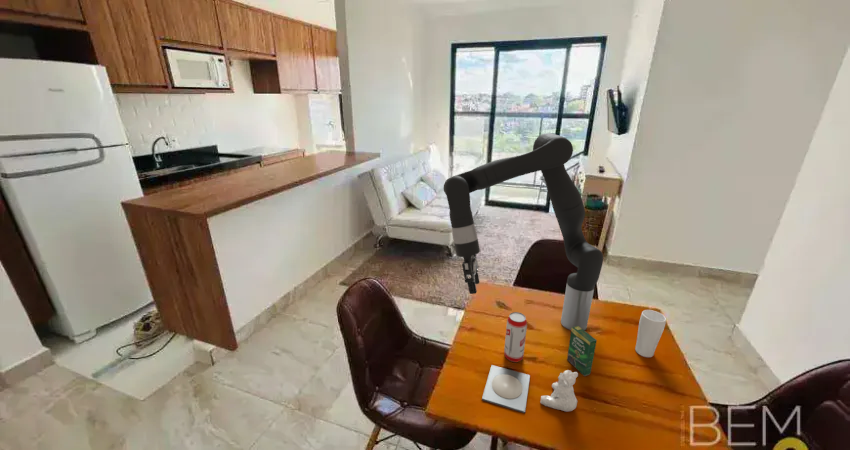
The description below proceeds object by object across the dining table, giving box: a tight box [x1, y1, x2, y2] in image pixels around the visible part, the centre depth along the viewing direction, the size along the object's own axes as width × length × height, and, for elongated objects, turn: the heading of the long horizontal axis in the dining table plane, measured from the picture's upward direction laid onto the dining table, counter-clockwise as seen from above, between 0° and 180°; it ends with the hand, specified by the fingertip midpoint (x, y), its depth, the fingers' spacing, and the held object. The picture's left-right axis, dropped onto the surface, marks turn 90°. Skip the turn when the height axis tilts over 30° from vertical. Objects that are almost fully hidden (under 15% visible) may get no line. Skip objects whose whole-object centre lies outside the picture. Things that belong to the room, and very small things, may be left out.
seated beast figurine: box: [539, 369, 579, 412], centre depth 93 cm, size 10×9×12 cm
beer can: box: [503, 311, 528, 363], centre depth 110 cm, size 6×6×16 cm
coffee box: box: [566, 326, 597, 377], centre depth 106 cm, size 8×3×13 cm, turn 19°
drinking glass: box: [634, 309, 667, 358], centre depth 111 cm, size 7×7×15 cm
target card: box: [481, 364, 531, 414], centre depth 100 cm, size 14×12×1 cm
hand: (474, 288), depth 107 cm, fingers open, 8 cm apart
